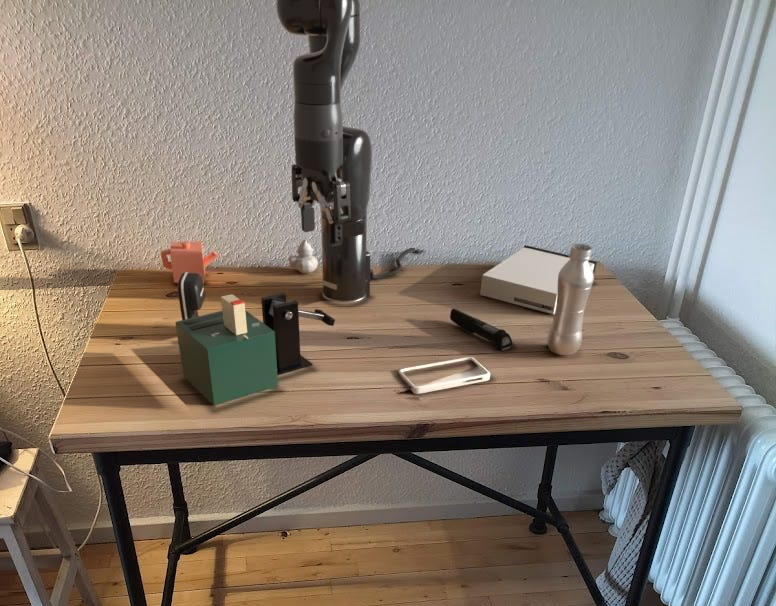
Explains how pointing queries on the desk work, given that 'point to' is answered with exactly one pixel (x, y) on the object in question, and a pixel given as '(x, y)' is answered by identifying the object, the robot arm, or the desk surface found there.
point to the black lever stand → (284, 332)
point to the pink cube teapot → (186, 259)
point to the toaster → (228, 358)
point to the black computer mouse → (190, 294)
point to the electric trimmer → (481, 329)
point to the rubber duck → (304, 258)
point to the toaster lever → (308, 314)
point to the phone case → (449, 377)
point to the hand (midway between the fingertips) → (321, 238)
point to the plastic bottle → (571, 301)
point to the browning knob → (234, 314)
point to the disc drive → (527, 279)
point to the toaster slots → (205, 319)
